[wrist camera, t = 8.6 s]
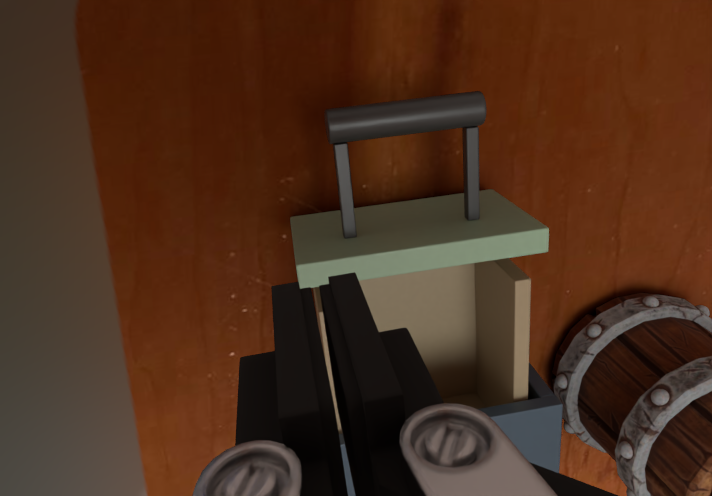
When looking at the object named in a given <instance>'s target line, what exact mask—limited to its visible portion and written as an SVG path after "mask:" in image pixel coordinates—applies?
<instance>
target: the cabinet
mask: <svg viewBox="0 0 712 496" xmlns="http://www.w3.org/2000/svg"><path fill="white" fill-rule="evenodd" d="M562 409H563V404H562V403H561V402H560V400H559V399H558V398H557V397H556V395H554V393H553V392H552V391H551V389H550V388H549V387H548V386H547V384H546V383H545V382H544V381H543V379H542V378H541V377H540V376H539V374H538V373H537V372H536V371H535V369H534V368H533V367H532V366H531V364H530V363H529V374H528V400H525V401H519V402H514V403H508V404H503V405H497V406H492V407H486V408H481V409H477V410H479V411H482V412H484V413H485V414H487V415H488V416H489V417H490V418H491V419H492V420H494V421H495V422H496V423H497V425H498V426H499V427H500V428H501V429H502V431H503V432H504V433H505V434H506V435H507V436H508V438H509V439H510V440H511V441H512V442H513V444H514V445H515V446H516V447H517V448H518V449H519V451H520V452H521V453H522V454H523V455H524V457H525V458H526V459H527V460H528V461H529V462H530V463H533V464H536V465H538V466H541V467H544V468H546V469H549V470H552V471H554V472H557V473H559V463H560V445H561V427H562ZM339 439H340V445H341V452H342V458H343V465H344V472H345V478H346V485H347V492H348V496H355V491H354V487H353V482H352V477H351V472H350V467H349V462H348V458H347V453H346V448H345V443H344V438H343V433H342V434H339Z"/></svg>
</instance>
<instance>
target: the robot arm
mask: <svg viewBox="0 0 712 496" xmlns="http://www.w3.org/2000/svg"><path fill="white" fill-rule="evenodd" d="M328 280H329V284H325V285H319V290H320V297H321V303H322V310H323V317H324V324H325V330H326V337H327V344H328V351H329V357H330V364H331V371H332V377H333V384H334V391H335V397H336V403H337V409H338V414H339V419H340V424H341V429H342V433H343V438H344V443H345V448H346V453H347V458H348V462H349V467H350V472H351V477H352V482H353V487H354V491H355V496H618V495H615V494H612V493H610V492H607V491H604V490H602V489H599V488H597V487H594V486H591V485H589V484H586V483H583V482H581V481H578V480H575V479H573V478H570V477H567V476H565V475H562V474H559V473H557V472H554V471H552V470H549V469H546V468H544V467H541V466H538V465H536V464H533V463H530V462H529V461H528V460H527V459H526V458H525V457H524V455H523V454H522V453H521V452H520V451H519V449H518V448H517V447H516V446H515V445H514V444H513V442H512V441H511V440H510V439H509V438H508V436H507V435H506V434H505V433H504V432H503V431H502V429H501V428H500V427H499V426H498V425H497V423H496V422H495V421H494V420H492V419H491V418H490V417H489V416H488V415H487V414H485V413H484V412H482V411H479V410H477V409H475V408H473V407H470V406H466V405H461V404H450V403H444V402H443V400H442V398H441V396H440V394H439V392H438V390H437V388H436V386H435V384H434V381H433V379H432V377H431V375H430V373H429V371H428V369H427V367H426V365H425V363H424V361H423V359H422V357H421V355H420V353H419V351H418V349H417V347H416V345H415V343H414V341H413V339H412V337H411V335H410V333H409V331H408V329H407V328H399V329H394V330H388V331H383V332H379V331H378V329H377V326H376V324H375V321H374V319H373V316H372V314H371V311H370V308H369V306H368V303H367V301H366V298H365V296H364V293H363V291H362V288H361V286H360V283H359V280H358V278H357V275H356V273H355V272H354V273H348V274H342V275H336V276H330V277H328ZM272 304H273V322H274V341H275V351H273V352H267V353H262V354H256V355H250V356H245V357H241V358H240V367H239V386H238V405H237V425H236V444H235V446H234V447H232V448H230V449H227V450H226V451H224V452H223V453H221V454H220V455H218V456H217V457H215V458H214V459H213V460H212V461H211V462H210V463H209V464H208V465H207V466H206V468H205V469H204V470H203V471H202V473H201V475H200V477H199V479H198V481H197V483H196V486H195V489H194V492H193V495H192V496H348V492H347V485H346V478H345V472H344V465H343V458H342V452H341V445H340V439H339V432H338V425H337V419H336V413H335V407H334V402H333V396H332V391H331V386H330V381H329V376H328V371H327V367H326V362H325V357H324V352H323V347H322V342H321V337H320V332H319V327H318V322H317V317H316V312H315V307H314V302H313V297H312V292H311V287H308V288H302V289H300V287H299V282H294V283H288V284H282V285H276V286H272Z"/></svg>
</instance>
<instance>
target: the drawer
mask: <svg viewBox="0 0 712 496" xmlns="http://www.w3.org/2000/svg"><path fill="white" fill-rule="evenodd" d="M485 118H486V102H485V98H484V96H483V94H482V92H480V91H475V92H466V93H458V94H449V95H441V96H433V97H424V98H416V99H407V100H399V101H391V102H382V103H374V104H365V105H357V106H349V107H340V108H332V109H326V110H325V126H326V133H327V138H328V142H329V144H333V150H334V159H335V168H336V177H337V186H338V195H339V204H340V210H337V211H330V212H323V213H316V214H308V215H301V216H294V217H290V222H291V230H292V239H293V247H294V255H295V263H296V271H297V277H298V282H299V287H300V289H302V288H308V287H311V288H313V291H314V299H315V306H316V313H317V320H318V327H319V332H320V337H321V342H322V347H323V352H324V357H325V362H326V367H327V371H328V376H329V381H330V386H331V391H332V396H333V402H334V407H335V413H336V419H337V425H338V432H339V434H342V429H341V424H340V419H339V414H338V409H337V403H336V397H335V391H334V384H333V377H332V371H331V364H330V357H329V351H328V344H327V337H326V330H325V324H324V317H323V310H322V303H321V297H320V290H319V285H325V284H329V280H328V277H330V276H336V275H342V274H348V273H354V272H355V273H356V275H357V278H358V280H359V283H360V286H361V288H362V291H363V293H364V296H365V298H366V301H367V303H368V306H369V308H370V311H371V314H372V316H373V319H374V321H375V324H376V326H377V329H378V331H379V332H383V331H388V330H394V329H399V328H407V329H408V331H409V333H410V335H411V337H412V339H413V341H414V343H415V345H416V347H417V349H418V351H419V353H420V355H421V357H422V359H423V361H424V363H425V365H426V367H427V369H428V371H429V373H430V375H431V377H432V379H433V381H434V384H435V386H436V388H437V390H438V392H439V394H440V396H441V398H442V400H443V402H444V403H450V404H461V405H466V406H470V407H473V408H475V409H481V408H486V407H492V406H497V405H503V404H508V403H514V402H519V401H525V400H528V374H529V335H530V297H531V279H530V278H529V277H528V276H527V275H526V274H525V273H524V272H523V271H522V270H521V269H520V268H518V267H517V266H516V265H515V264H514V263H513V262H512V261H511V260H510V259H509V258H511V257H518V256H525V255H531V254H538V253H544V252H548V242H549V228H548V227H546V226H545V225H544V224H542V223H541V222H539V221H538V220H536V219H535V218H533V217H532V216H530V215H529V214H528V213H526V212H525V211H523V210H522V209H520V208H519V207H517V206H516V205H514V204H513V203H512V202H510V201H509V200H507V199H506V198H504V197H503V196H501V195H500V194H498V193H497V192H495V191H494V190H493V189H489V190H482V191H479V128H478V125H482V124H483V123H484V121H485ZM455 128H463V172H464V193H460V194H453V195H446V196H438V197H431V198H424V199H417V200H409V201H402V202H395V203H388V204H381V205H373V206H366V207H359V208H354V203H353V193H352V183H351V173H350V164H349V154H348V144H347V142H351V141H359V140H367V139H375V138H383V137H391V136H399V135H407V134H415V133H423V132H431V131H439V130H447V129H455Z"/></svg>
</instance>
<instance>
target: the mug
mask: <svg viewBox="0 0 712 496" xmlns="http://www.w3.org/2000/svg"><path fill="white" fill-rule="evenodd" d="M709 314H710V312H709V309H708V308H707V307H705V306H703V305H698V306H696V307H695V306H694V305H692V304H691V303H689V302H688V301H686V300H685V299H682V298H676V297H671V296H665V295H659V294H656V295H655V294H649V293H638V294H633V295H627V296H622V297H617V298H615V299H613V300H611V301H609V302H607V303H605V304H603V305H601V306H599V307H597V308H596V316H595V317H594V316H591V315H589V314H587V315H586V316H585V317H584V318H583V319H582V320H581V321H579V322H578V323H577V324H576V325H575V326H574V327H573V328H572V329H571V330H570V331H569V333H568V335H567V336H566V338H565V340H564V341H563V343H562V345H561V346H560V348H559V350H558V351H557V353H556V357H555V362H554V366H553V371H552V373H553V374H554V375H555V376H556V378H553V380H552V384H553V389H554V394H555V395H556V397H557V398H558V399H559V400H560V402H561V403H562V404H563V409H562V418H563V419H564V421H565V422H564V429H565V430H566V431H567V432H568V433H571V434H572V433H575V434H576V435H577V436H578V437H579V438H580V439H581V440H582V441H583V442H584V443H586V444H588V445H590V446H592V447H594V448H596V449H598V450H600V451H602V452H605V453H608V454H609V455H610V456H611V457H612V458H613V459H614V460H615V461H616V463H617V471H618V475H619V477H620V478H621V479H622V481H623V482H624V484H625V485H626V486H627V491H626V492H627V496H712V319H711V318H710V317H709Z"/></svg>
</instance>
